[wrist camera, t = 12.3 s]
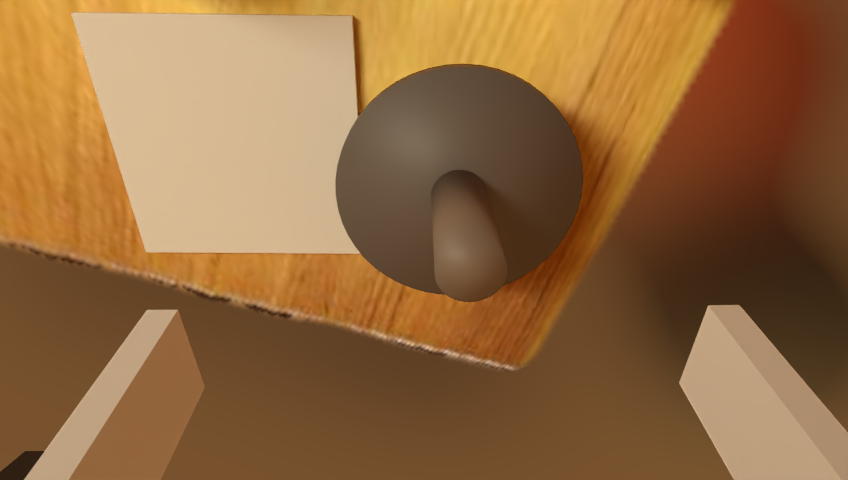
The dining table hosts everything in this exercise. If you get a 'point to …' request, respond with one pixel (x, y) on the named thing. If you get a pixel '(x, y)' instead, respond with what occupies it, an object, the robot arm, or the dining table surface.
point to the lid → (458, 180)
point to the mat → (227, 125)
